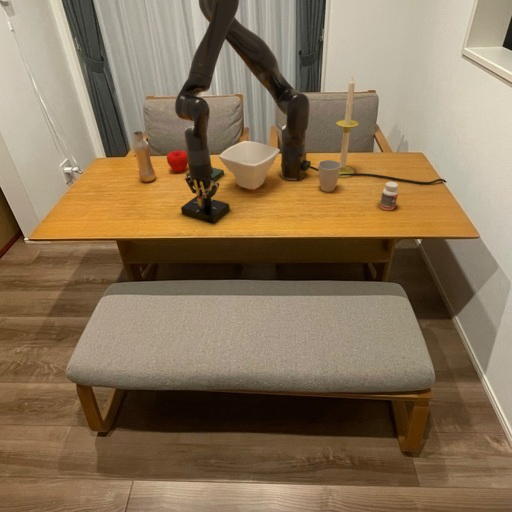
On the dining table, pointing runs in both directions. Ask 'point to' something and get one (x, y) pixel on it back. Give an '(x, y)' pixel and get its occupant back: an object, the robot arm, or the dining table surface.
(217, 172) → the dark grey base plate
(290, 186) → the dining table surface
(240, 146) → the bowl
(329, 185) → the cup
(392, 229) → the dining table surface
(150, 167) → the plastic bottle
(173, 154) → the apple
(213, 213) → the panel
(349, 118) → the candle
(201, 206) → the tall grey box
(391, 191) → the pill bottle
